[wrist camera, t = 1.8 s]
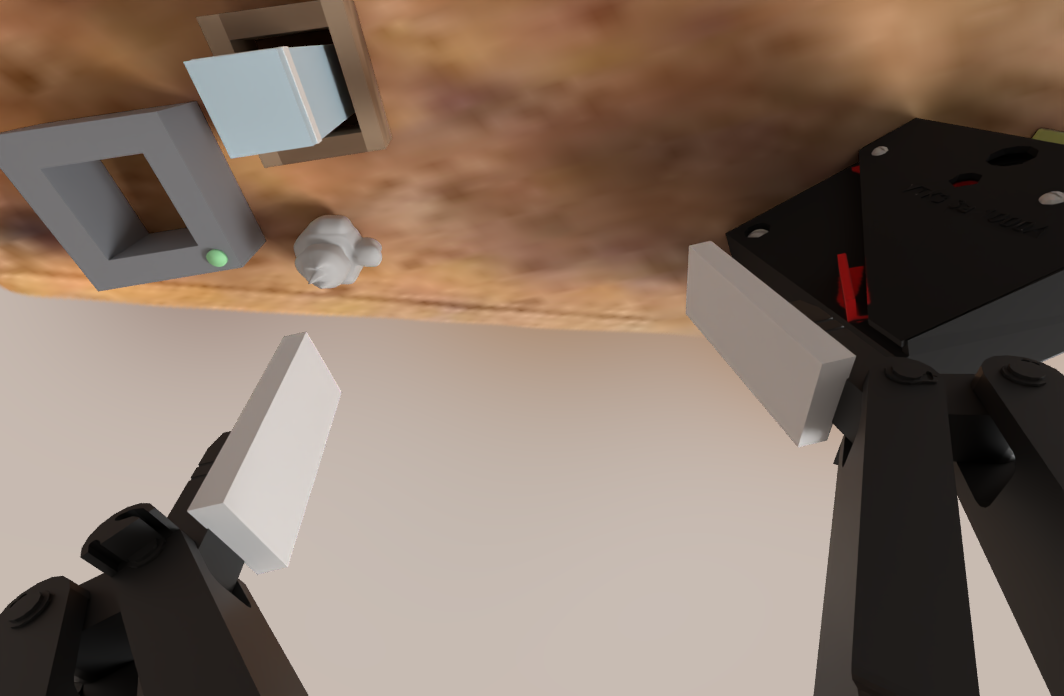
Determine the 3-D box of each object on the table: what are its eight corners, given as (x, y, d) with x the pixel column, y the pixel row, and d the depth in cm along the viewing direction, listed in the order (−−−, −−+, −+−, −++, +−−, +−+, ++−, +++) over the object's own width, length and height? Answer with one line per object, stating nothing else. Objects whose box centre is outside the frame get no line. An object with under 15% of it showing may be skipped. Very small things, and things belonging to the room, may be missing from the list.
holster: (225, 19, 28) (195, 17, 24) (354, 1, 28) (341, -3, 25) (283, 154, 32) (264, 167, 29) (392, 137, 33) (385, 149, 29)
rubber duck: (295, 206, 34) (259, 245, 28) (382, 208, 35) (367, 246, 29) (310, 270, 38) (281, 318, 31) (390, 269, 39) (378, 317, 32)
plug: (271, 51, 29) (181, 60, 19) (335, 42, 29) (276, 47, 19) (298, 121, 31) (229, 159, 22) (356, 112, 31) (314, 146, 22)
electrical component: (742, 298, 46) (899, 440, 30) (720, 216, 40) (900, 337, 24) (913, 212, 43) (1189, 318, 27) (916, 110, 37) (1269, 167, 21)
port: (41, 123, 29) (-29, 138, 25) (196, 100, 30) (153, 112, 25) (138, 261, 35) (95, 293, 31) (266, 240, 36) (240, 269, 31)
